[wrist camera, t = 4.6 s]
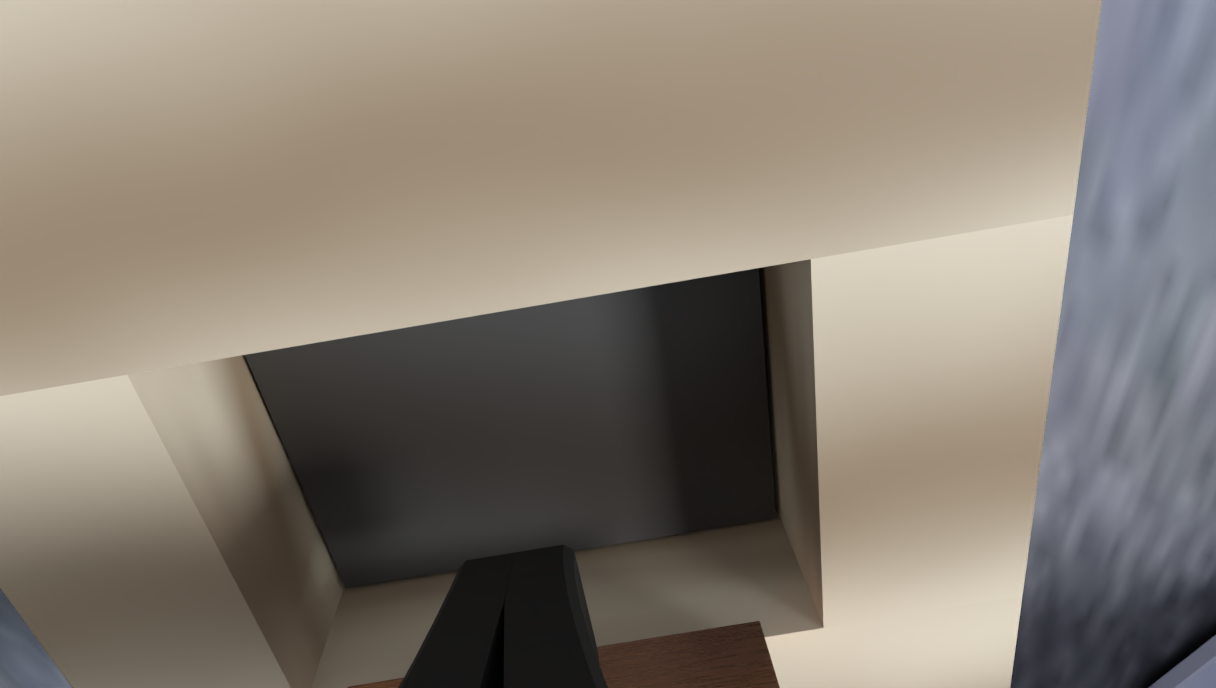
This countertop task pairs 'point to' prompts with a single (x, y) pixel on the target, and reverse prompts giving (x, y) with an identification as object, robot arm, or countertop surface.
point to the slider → (682, 661)
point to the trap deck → (529, 324)
